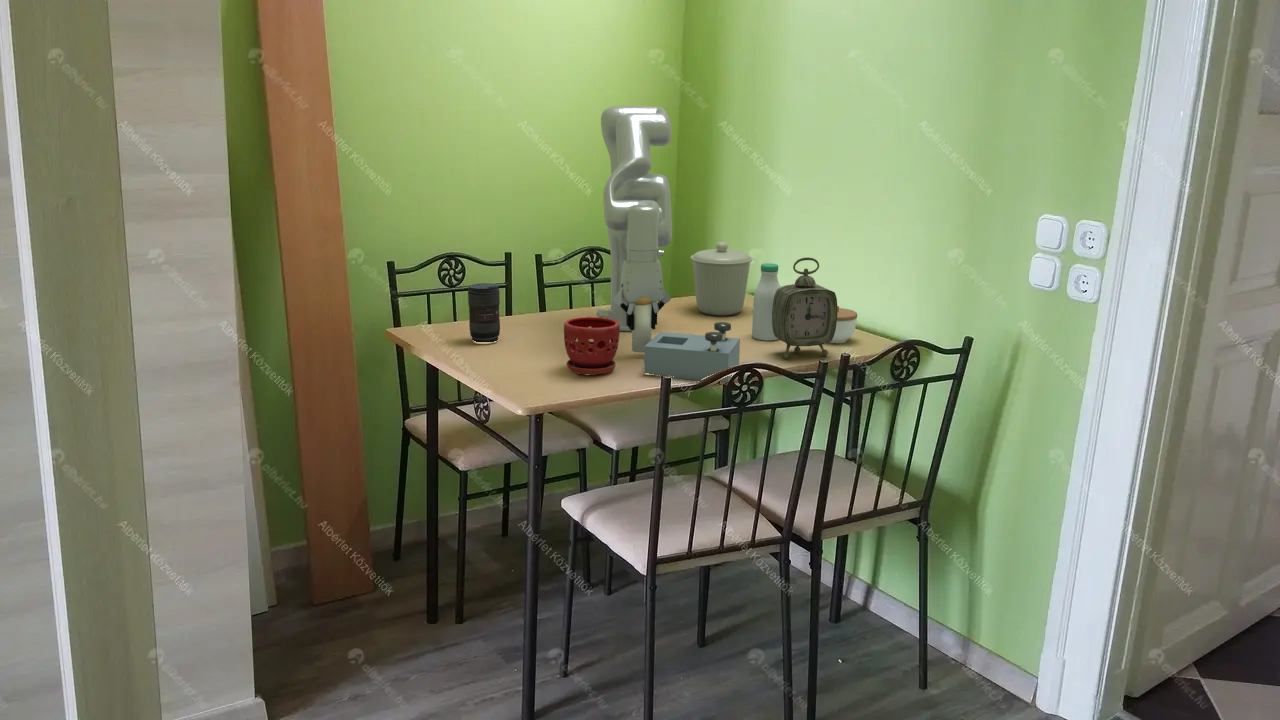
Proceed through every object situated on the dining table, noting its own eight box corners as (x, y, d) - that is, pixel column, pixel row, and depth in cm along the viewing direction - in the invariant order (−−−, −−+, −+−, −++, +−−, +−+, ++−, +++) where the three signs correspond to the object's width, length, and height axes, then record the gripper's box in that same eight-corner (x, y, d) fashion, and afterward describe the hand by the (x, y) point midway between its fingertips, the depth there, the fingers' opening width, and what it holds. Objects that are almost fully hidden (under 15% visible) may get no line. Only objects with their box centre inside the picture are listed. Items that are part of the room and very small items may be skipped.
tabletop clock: (781, 361, 247) (786, 261, 240) (767, 351, 256) (771, 255, 249) (834, 357, 251) (841, 259, 244) (818, 348, 260) (824, 253, 253)
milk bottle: (779, 342, 265) (783, 267, 259) (750, 340, 267) (753, 266, 261) (781, 334, 272) (785, 262, 267) (753, 333, 274) (756, 261, 268)
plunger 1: (702, 365, 231) (703, 335, 229) (706, 361, 235) (707, 331, 233) (719, 367, 230) (720, 337, 228) (723, 362, 233) (724, 332, 231)
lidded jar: (807, 337, 271) (809, 303, 268) (842, 334, 274) (844, 300, 271) (827, 347, 261) (829, 312, 258) (863, 343, 264) (865, 309, 262)
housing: (644, 374, 236) (644, 346, 234) (659, 359, 248) (660, 331, 246) (727, 382, 230) (728, 353, 228) (738, 366, 243) (740, 338, 241)
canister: (677, 313, 295) (679, 242, 289) (709, 302, 309) (711, 234, 303) (730, 322, 285) (733, 249, 279) (761, 310, 299) (764, 240, 294)
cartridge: (629, 348, 252) (629, 293, 248) (648, 346, 253) (649, 292, 249) (634, 353, 247) (634, 298, 243) (653, 352, 249) (654, 297, 245)
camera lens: (506, 339, 265) (505, 284, 261) (489, 346, 258) (487, 289, 254) (481, 335, 268) (479, 281, 264) (463, 343, 261) (461, 286, 257)
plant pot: (620, 377, 233) (621, 328, 230) (564, 378, 232) (563, 328, 229) (617, 362, 246) (618, 314, 242) (564, 362, 245) (563, 315, 241)
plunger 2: (711, 354, 240) (712, 325, 238) (715, 350, 244) (716, 321, 242) (728, 355, 239) (729, 326, 237) (731, 351, 243) (732, 322, 241)
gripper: (671, 252, 249) (670, 323, 254) (605, 254, 245) (605, 326, 250) (680, 257, 242) (678, 330, 247) (611, 259, 238) (611, 333, 243)
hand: (641, 327), depth 249 cm, fingers closed on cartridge, 4 cm apart
